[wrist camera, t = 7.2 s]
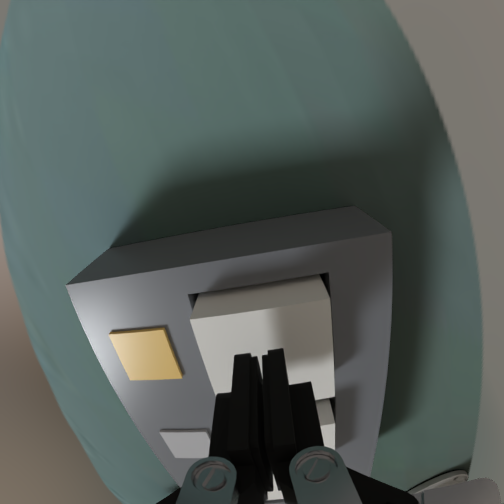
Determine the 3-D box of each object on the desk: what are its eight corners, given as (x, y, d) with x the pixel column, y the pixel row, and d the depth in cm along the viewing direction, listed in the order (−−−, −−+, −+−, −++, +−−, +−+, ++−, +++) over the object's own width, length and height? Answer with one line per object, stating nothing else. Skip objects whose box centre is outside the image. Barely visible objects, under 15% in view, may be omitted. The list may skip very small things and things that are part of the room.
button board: (354, 205, 16) (393, 233, 11) (354, 449, 23) (366, 494, 18) (108, 248, 17) (63, 287, 12) (204, 467, 24) (198, 511, 19)
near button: (315, 265, 14) (330, 298, 11) (323, 355, 15) (334, 396, 12) (202, 284, 14) (189, 319, 11) (226, 369, 16) (221, 411, 13)
